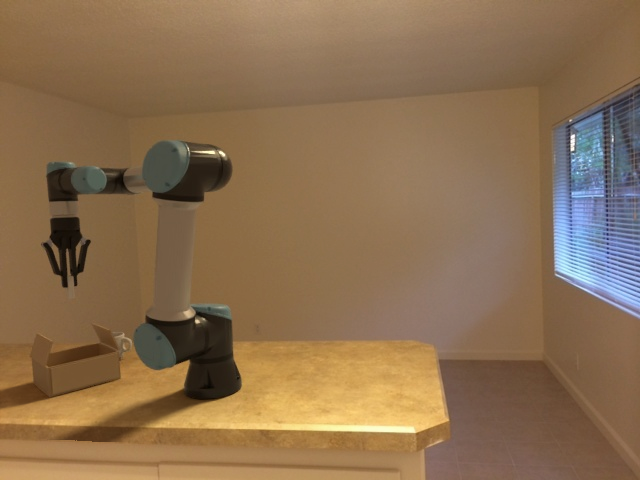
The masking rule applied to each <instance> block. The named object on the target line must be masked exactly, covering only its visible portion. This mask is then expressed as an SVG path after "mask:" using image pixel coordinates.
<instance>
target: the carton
mask: <svg viewBox="0 0 640 480" xmlns="http://www.w3.org/2000/svg"><path fill="white" fill-rule="evenodd" d="M120 359H121V358H119V352H118V351H116V350H114V349H112V348H110V347H108V346H105V345H103V344H101V343H100V342H95V343H90V344H86V345H81V346H77V347H72V348H71V347H70V348H67V349H62V350H57V351H53V352H50V354H49V357H48V361H47V364H46V367H43V366H42V365H41V364H39V363H38V362H36V361H35V360H34V359H32V358H31V367H32V381H33V385H34V386H36V388H38V389H39V390H40V391H41V392H43V393H44V394H45V395H46V396H47V397H49V398H53V397H57V396H61V395H65V394H69V393H72V392H76V391H79V390H83V389H87V388H90V386H91V387H94V385H95V386H98V385H102V384H106V383H109V381H110V382H113V381H117V380H121V379H122V375H121V362H120ZM120 378H121V379H120ZM116 379H117V380H116ZM112 380H113V381H112ZM105 382H106V383H105ZM101 383H102V384H101Z"/></svg>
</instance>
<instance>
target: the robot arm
mask: <svg viewBox="0 0 640 480" xmlns="http://www.w3.org/2000/svg"><path fill="white" fill-rule="evenodd" d="M233 168H234V167H233V163H232V159H231V157H230V156H229V155H228V153H227V152H226V151H225V150H224V149H222V148H221V147H220V146H217V145H214V144H209V143H199V142H192V141H191V142H190V141H184V140H180V139H176V140H175V139H174V140H173V139H170V140H169V139H165V140H163V139H162V140H160V141H157V142H156V143H154V144H153V145H152V146H151V148H149V149H148V150H147V151H146V153H145V156H144V158H143V162H142V165H137V166H131V167H124V168H109V167H98V166H96V165H81V166H76V163H74V162H73V161H51V162H48V163H47V164H46V175H45V177H46V184H47V186H46V187H47V196H48V206H49V207H48V209H49V216H51V218H50V219H49V223H50V234H49V238H48V239H47V240H46V241H44V242H43V241H42V242H41V244H40V245H41V247H42V248H43V250H45V253H46V256H47V258H48V261H49V264H50V266H51V269H52V272H53V274H54V275H55V276H58V277H60V278H61V280H60V281H61V287H62V288H65V294H66V295H65V297H66V299H67V300H73V299H76V294H75V287H78V275H79V274H81V273H82V274H83V272H84V271H85V264H86V261H87V260H86V259H87V253H88V248H89V246H90V245H91V243H92V241H91V239H87V238H86V237H83V234H82V232H81V219H80V217H78V216H79V215H80V209H79V208H80V206H79V195H82V196H83V195H126V196H127V195H128V196H129V195H131V196H132V195H138V194H141V193H147V192H152V193H151V194H152V196H151V198H152V200H153V201H154V202H155V203H156V204H157V205H158V210H157V213H158V214H157V226H156V227H157V228H156V229H157V230H156V242H155V243H156V245H155V246H156V247H155V260H154V262H155V263H154V264H155V265H154V280H153V298H152V305H150V306H149V307H148V308H147V309H146V310H145V319H144V320H145V321H144V323H141V324H139V325H138V326H137V327H136V328H135V330H134V332H133V337H132V338H133V347H134V350H135V352H136V354H137V356H138V358H139V360H140V361H141V362H142V364H143V365H144V366H146V367H147V368H149V369H151V370H153V371H162V370H165V369H171V368H174V367H175V366H177V365H179V364H182V363H185V362H188V361H189V363H188V364H189V365H188V368H187V372H186V376H185V380H184V383H183V387H184V389H183V390H184V391H183V392H184V394H185V396H187V397H189V398H193V399H197V400H198V399H199V400H211V399H217V398H218V399H220V398H222V397H226V396H230V395H233V394H235V393H236V392H238V391H239V390H241V388H242V386H243V385H242V383H243V381H242V376H241V374H240V373H241V372H240V371H239V368H238V366H237V363H236V361H235V358H234V357H235V355H234V336H233V318H232V312H231V311H232V310H231V308H230V307H229V305H227V304H222V303H208V302H207V303H205V302H203V303H191V295H192V280H193V267H194V251H195V240H196V239H195V237H196V223H197V209H198V208H199V207H200V206H201V205H203V204H204V202H205V193H213V192H217V191H220V190H222V189H224V188H225V187H226V186H227V185H228V184H229V182H230V180H231V179H232V177H233V171H234V170H233ZM79 243H80V247H79V248H80V249H79V254H78V260H77V246H78V245H79ZM53 245H54V246H55V247H56V248H57V252H58V259H59V264H58V261H57V258H56V255H55V252H54V249H53V248H52V247H53ZM67 252H68V258H67ZM67 259H68V260H67ZM68 261H69V262H68ZM68 264H69V274H70V275H69V274H68Z"/></svg>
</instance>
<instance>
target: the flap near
mask: <svg viewBox="0 0 640 480" xmlns="http://www.w3.org/2000/svg"><path fill="white" fill-rule="evenodd" d="M53 344H54V341H53V340H52V339H50V338H48V337H46V336H44V335H42V334H41V333H38V332H36V334H35V337H34V341H33V343H32V346H31V350H30V354H29V357H30V358H31V360H32V359H34V360H35V361H36V362H38V363H39V364H41V365H42V366H43V367H46V364H47V361H48V357H49V354H50V353H51V350H52V346H53Z"/></svg>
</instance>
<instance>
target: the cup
mask: <svg viewBox="0 0 640 480" xmlns="http://www.w3.org/2000/svg"><path fill="white" fill-rule="evenodd" d="M111 332H112V331H111ZM112 334H113V336H114V338H115V340H116V342H117V344H118V346H119V348H120V350H117V349H115V348H113V347H110V346H108V345H106V344H104V343H102V342H100V340H99V339H98V343H101V344H103V345H105V346H108V347H110V348H112V349H114V350H116V351H118V352H119V359H121V358H122V357H123V356H124V354H125V353H127V352H130V351H131V350H132V348H133V342H132V339H131V338H129V337H126V336H125V333H124V332H122V331H115V332H114V331H113V332H112ZM125 342H127V343H128V348H126V345H125Z"/></svg>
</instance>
